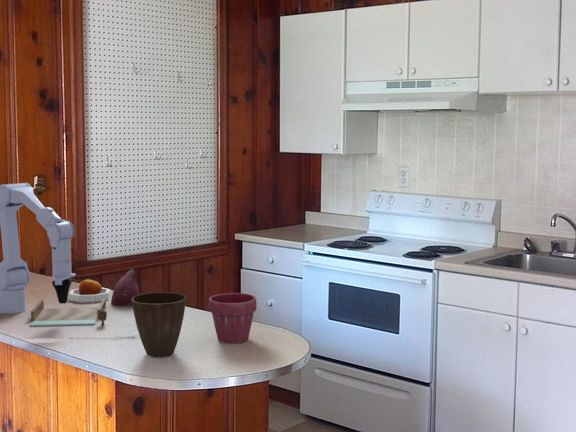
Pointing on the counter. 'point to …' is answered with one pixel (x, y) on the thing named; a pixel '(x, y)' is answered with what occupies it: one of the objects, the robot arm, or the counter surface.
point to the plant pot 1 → (159, 321)
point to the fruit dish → (89, 296)
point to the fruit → (89, 287)
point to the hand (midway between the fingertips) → (62, 303)
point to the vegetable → (125, 290)
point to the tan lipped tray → (66, 312)
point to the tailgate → (63, 323)
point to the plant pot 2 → (232, 316)
